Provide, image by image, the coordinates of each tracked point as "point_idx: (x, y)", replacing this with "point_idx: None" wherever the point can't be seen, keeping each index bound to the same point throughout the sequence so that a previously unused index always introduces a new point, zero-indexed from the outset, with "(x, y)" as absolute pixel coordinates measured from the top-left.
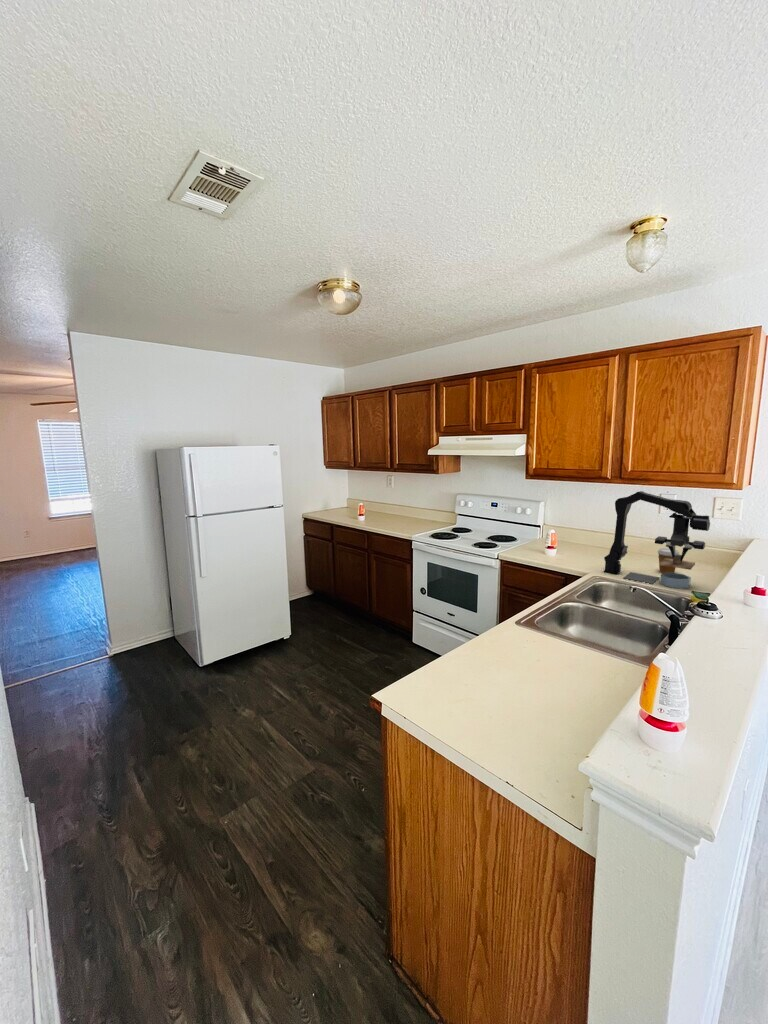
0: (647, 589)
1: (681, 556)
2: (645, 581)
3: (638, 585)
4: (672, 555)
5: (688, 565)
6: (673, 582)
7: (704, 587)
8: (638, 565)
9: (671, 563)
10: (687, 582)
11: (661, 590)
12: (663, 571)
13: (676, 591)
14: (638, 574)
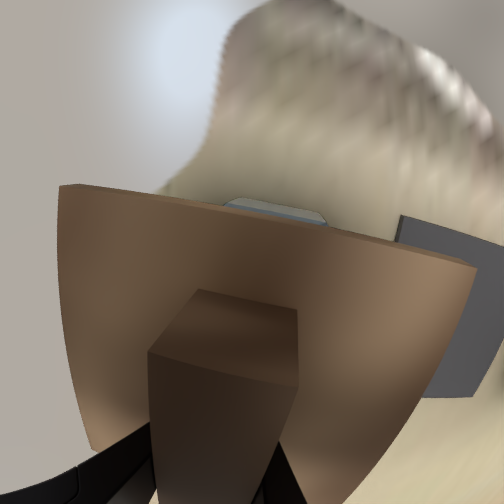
0: (425, 76)
1: (137, 463)
2: (446, 241)
3: (474, 147)
4: (295, 496)
5: (91, 310)
6: (274, 208)
7: None
8: (387, 501)
9: (311, 329)
10: None
11: (349, 90)
12: None
13: (255, 118)
14: (449, 380)
